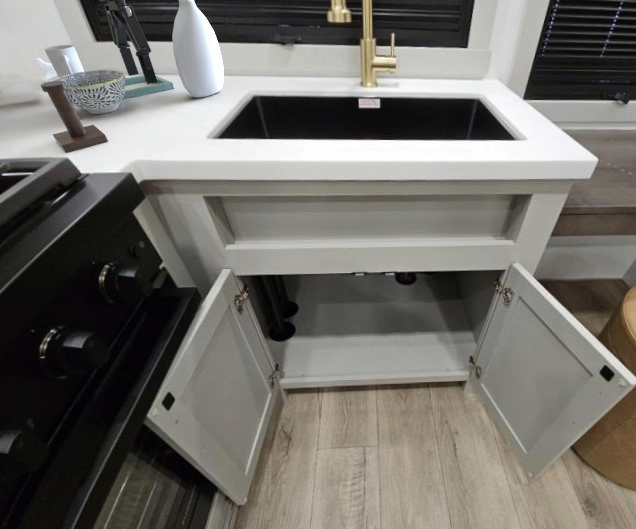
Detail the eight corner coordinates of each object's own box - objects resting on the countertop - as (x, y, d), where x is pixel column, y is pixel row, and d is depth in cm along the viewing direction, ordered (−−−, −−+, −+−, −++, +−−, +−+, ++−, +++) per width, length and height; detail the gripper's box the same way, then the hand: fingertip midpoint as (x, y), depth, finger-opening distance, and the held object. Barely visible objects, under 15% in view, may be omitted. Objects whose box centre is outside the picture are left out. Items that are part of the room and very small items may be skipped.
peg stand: (56, 141, 69) (23, 83, 61) (96, 131, 73) (70, 76, 65) (65, 152, 64) (32, 92, 57) (108, 141, 68) (81, 83, 61)
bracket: (56, 83, 108) (36, 58, 102) (76, 74, 109) (58, 49, 104) (54, 92, 100) (32, 66, 94) (76, 83, 101) (55, 56, 95)
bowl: (103, 123, 76) (88, 88, 71) (53, 117, 80) (34, 83, 75) (149, 103, 87) (138, 71, 82) (103, 98, 91) (90, 67, 86)
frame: (101, 88, 99) (98, 83, 98) (152, 79, 107) (151, 73, 106) (119, 99, 90) (117, 93, 89) (174, 88, 98) (172, 82, 97)
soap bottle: (215, 85, 99) (190, -34, 81) (233, 89, 96) (212, -34, 78) (175, 97, 91) (138, -33, 73) (194, 102, 87) (160, -34, 69)
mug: (68, 96, 93) (43, 46, 85) (94, 92, 96) (72, 43, 88) (70, 105, 87) (44, 52, 79) (98, 100, 90) (75, 49, 82)
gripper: (143, -22, 72) (174, 84, 87) (107, -22, 86) (139, 69, 101) (108, -20, 69) (146, 89, 83) (76, -21, 83) (114, 74, 97)
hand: (142, 78), depth 92 cm, fingers open, 13 cm apart
